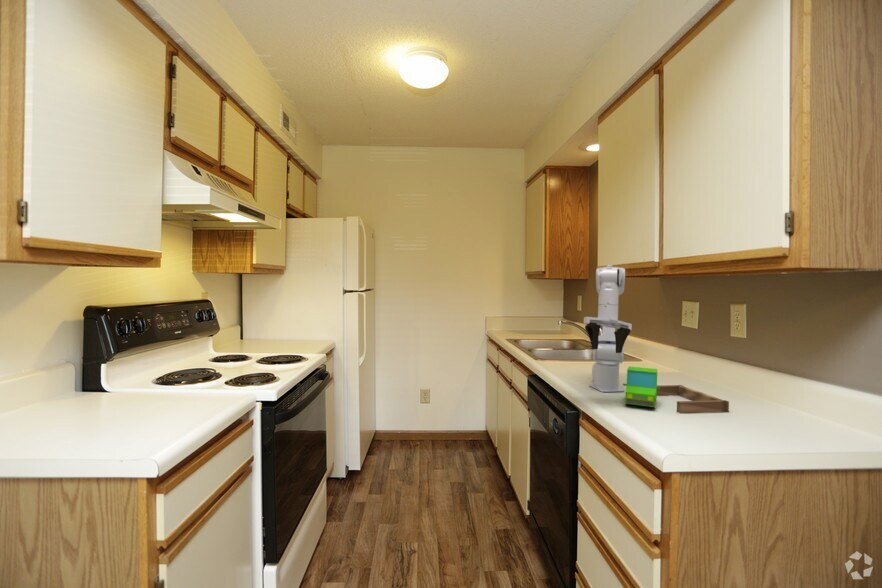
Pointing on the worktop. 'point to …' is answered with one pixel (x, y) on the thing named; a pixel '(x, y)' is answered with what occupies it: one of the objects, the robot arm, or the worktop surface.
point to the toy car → (641, 386)
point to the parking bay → (693, 400)
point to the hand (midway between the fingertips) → (606, 351)
